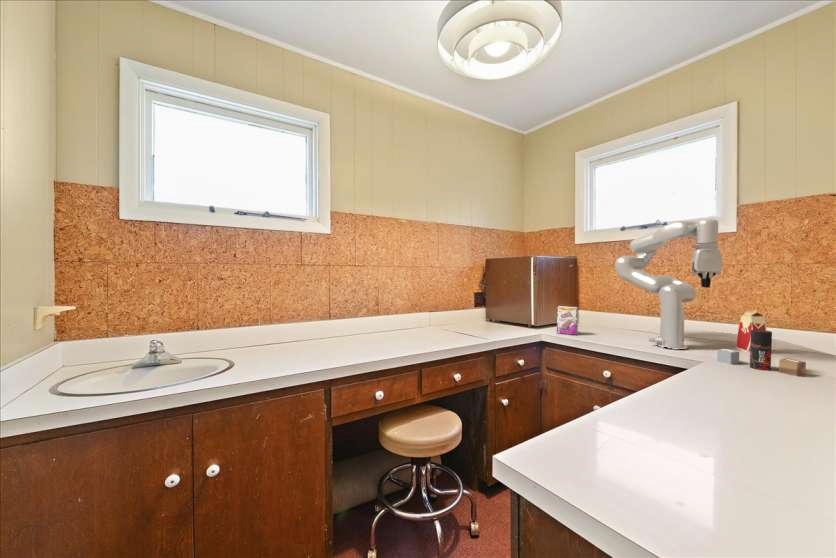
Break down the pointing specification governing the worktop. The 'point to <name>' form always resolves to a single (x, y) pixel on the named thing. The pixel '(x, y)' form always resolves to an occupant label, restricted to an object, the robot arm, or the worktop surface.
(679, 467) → the worktop surface
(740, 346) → the milk carton
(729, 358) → the grey block
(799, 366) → the walnut block
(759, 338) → the deodorant
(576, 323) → the candy bar box
